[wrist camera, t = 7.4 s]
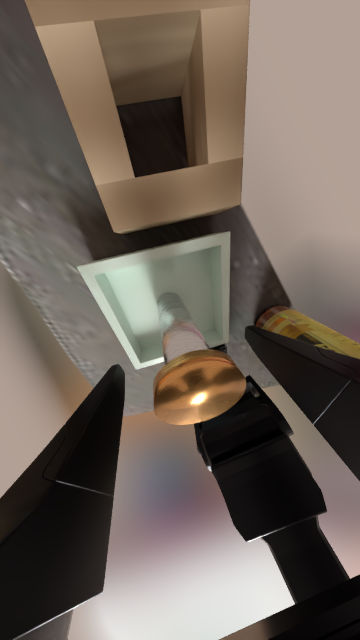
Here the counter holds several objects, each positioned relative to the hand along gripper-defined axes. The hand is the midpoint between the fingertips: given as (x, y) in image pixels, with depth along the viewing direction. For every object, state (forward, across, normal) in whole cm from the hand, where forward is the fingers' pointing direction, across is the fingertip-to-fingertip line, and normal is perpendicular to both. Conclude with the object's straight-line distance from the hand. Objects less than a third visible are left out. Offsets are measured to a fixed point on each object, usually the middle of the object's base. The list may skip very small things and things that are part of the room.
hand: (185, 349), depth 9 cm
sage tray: (+8, 0, 0) cm, 8 cm away
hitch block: (+8, -2, -12) cm, 15 cm away
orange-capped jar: (+8, 0, 0) cm, 8 cm away
